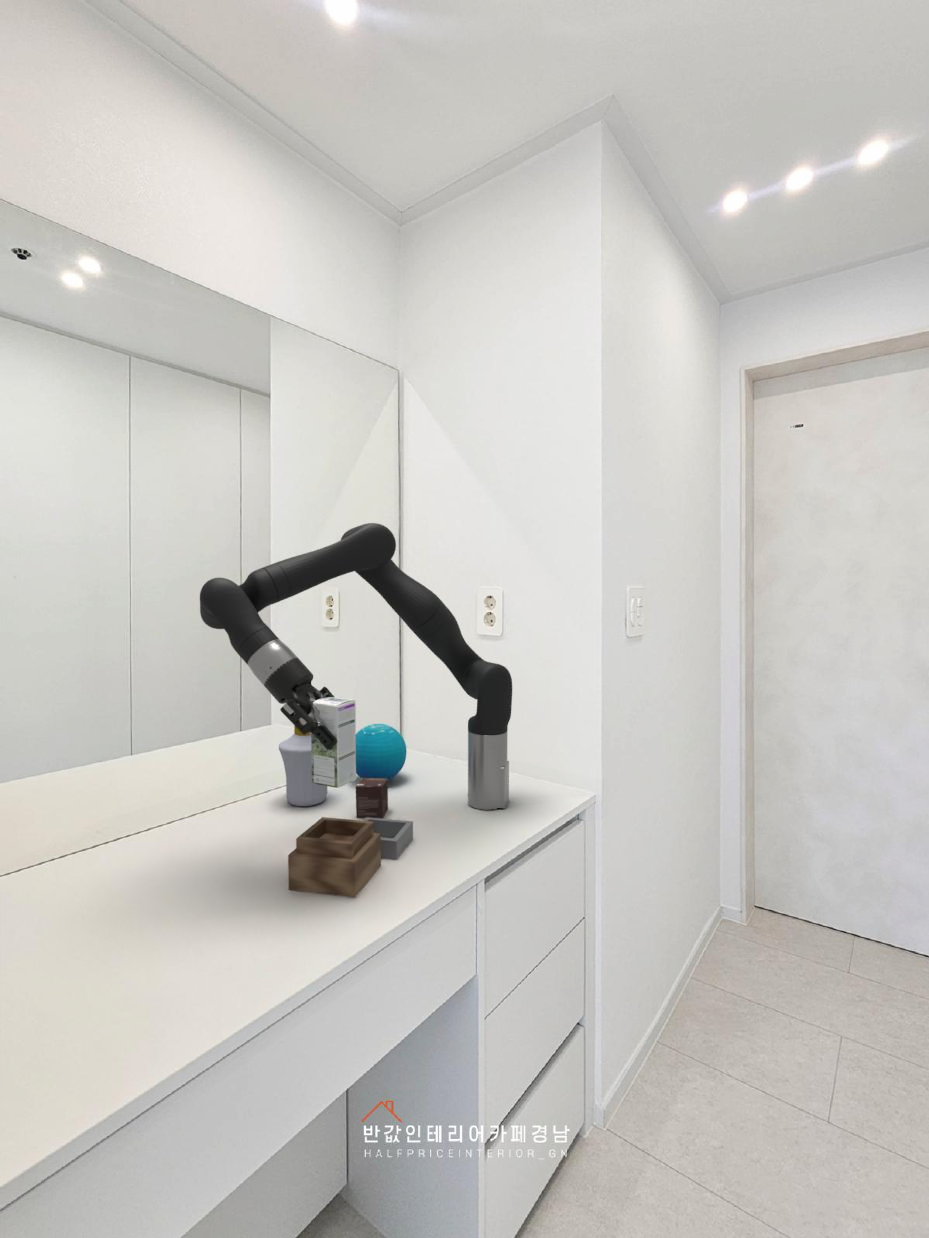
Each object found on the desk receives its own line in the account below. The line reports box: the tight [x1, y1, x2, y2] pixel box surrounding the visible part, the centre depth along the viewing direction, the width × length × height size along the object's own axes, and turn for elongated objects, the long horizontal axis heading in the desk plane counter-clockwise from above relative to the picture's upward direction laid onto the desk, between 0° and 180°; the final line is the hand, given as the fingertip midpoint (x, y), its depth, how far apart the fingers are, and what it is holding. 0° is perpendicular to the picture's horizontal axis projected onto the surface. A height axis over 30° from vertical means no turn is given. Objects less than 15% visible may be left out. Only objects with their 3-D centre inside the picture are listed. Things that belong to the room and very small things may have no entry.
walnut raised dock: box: [287, 816, 382, 899], centre depth 110 cm, size 12×12×8 cm
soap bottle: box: [278, 720, 328, 807], centre depth 148 cm, size 13×13×25 cm
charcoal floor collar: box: [362, 817, 414, 860], centre depth 123 cm, size 10×10×4 cm
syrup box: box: [311, 697, 357, 789], centre depth 109 cm, size 6×6×14 cm
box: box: [355, 778, 389, 819], centre depth 140 cm, size 6×6×7 cm
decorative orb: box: [356, 723, 408, 781], centre depth 163 cm, size 15×15×15 cm
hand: (342, 740), depth 108 cm, fingers closed on syrup box, 6 cm apart
